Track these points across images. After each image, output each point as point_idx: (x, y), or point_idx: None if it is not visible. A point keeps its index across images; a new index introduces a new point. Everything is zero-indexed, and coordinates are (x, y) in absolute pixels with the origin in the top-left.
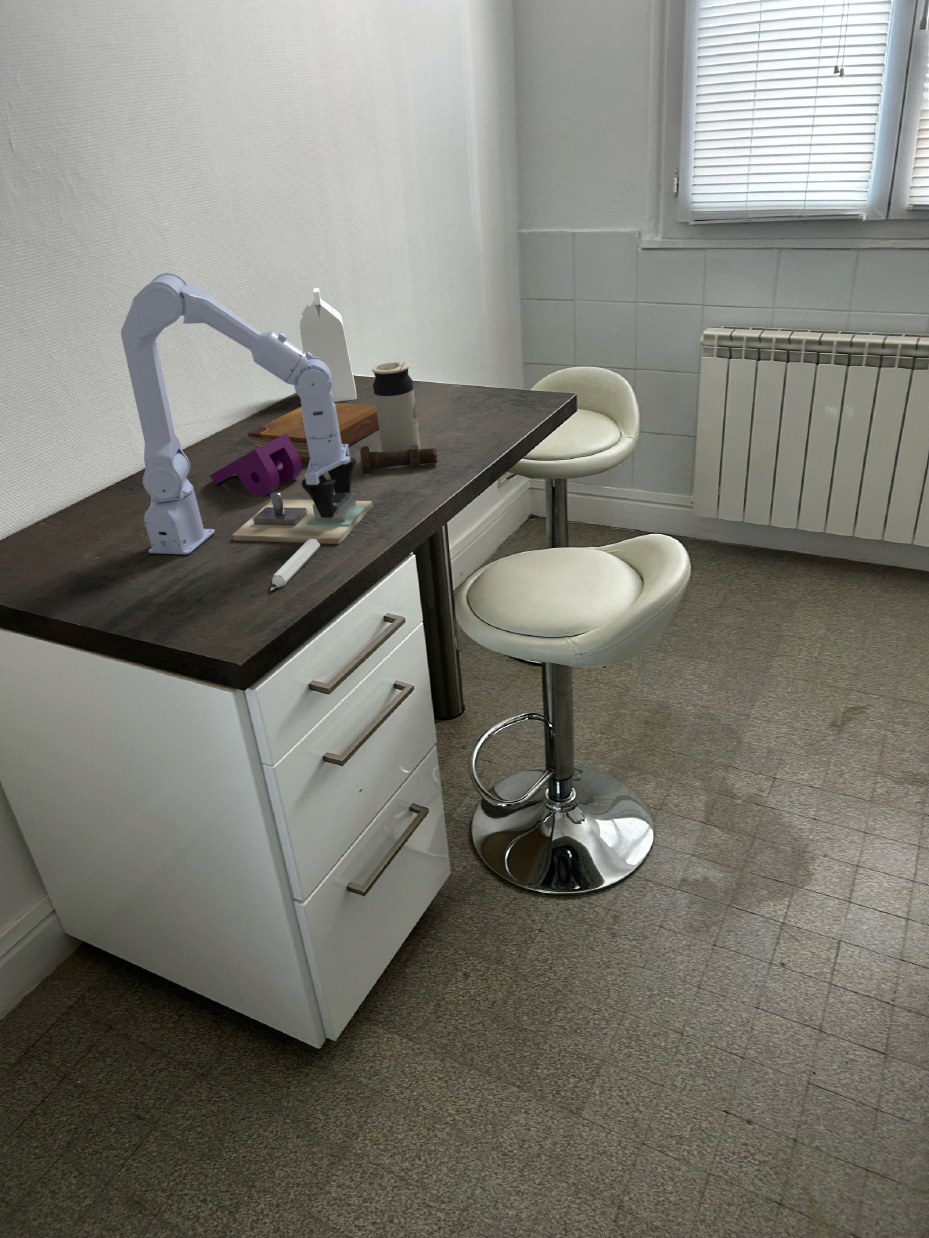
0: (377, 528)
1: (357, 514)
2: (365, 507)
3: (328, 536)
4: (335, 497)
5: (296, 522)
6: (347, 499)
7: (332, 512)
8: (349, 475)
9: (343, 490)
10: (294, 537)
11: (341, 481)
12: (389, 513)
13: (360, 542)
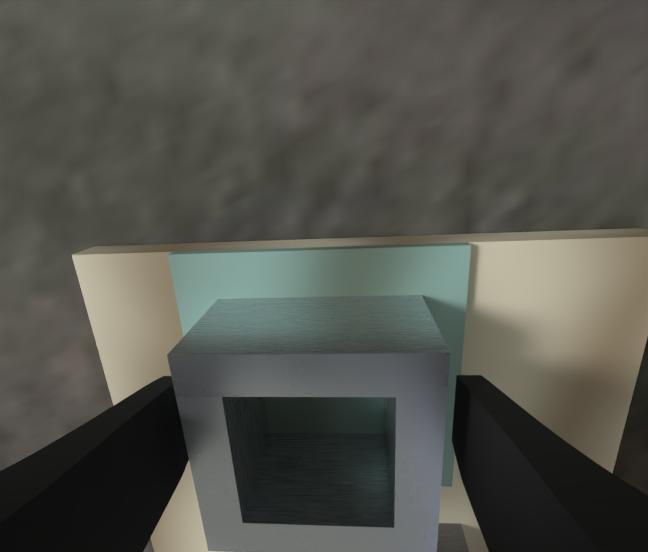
0: (401, 68)
1: (302, 258)
2: (180, 253)
3: (628, 314)
4: (241, 462)
5: (448, 534)
6: (314, 357)
7: (500, 390)
8: (12, 517)
9: (150, 450)
10: None
11: (97, 527)
12: (159, 89)
13: (633, 94)
